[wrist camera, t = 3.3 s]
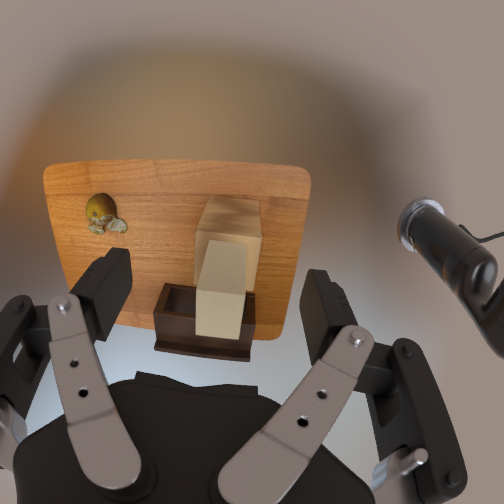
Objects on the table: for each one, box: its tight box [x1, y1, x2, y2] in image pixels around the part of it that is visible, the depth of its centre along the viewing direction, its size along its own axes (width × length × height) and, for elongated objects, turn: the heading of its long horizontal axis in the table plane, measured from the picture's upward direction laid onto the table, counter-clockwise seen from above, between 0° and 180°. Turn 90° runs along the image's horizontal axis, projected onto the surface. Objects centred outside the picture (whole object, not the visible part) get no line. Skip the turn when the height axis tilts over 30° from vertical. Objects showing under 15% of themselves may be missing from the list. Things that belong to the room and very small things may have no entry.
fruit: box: [86, 193, 127, 235], centre depth 45 cm, size 8×8×4 cm
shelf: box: [153, 283, 256, 362], centre depth 52 cm, size 18×8×11 cm, turn 82°
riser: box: [194, 195, 262, 291], centre depth 42 cm, size 8×8×14 cm
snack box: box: [196, 240, 246, 339], centre depth 31 cm, size 4×6×10 cm
